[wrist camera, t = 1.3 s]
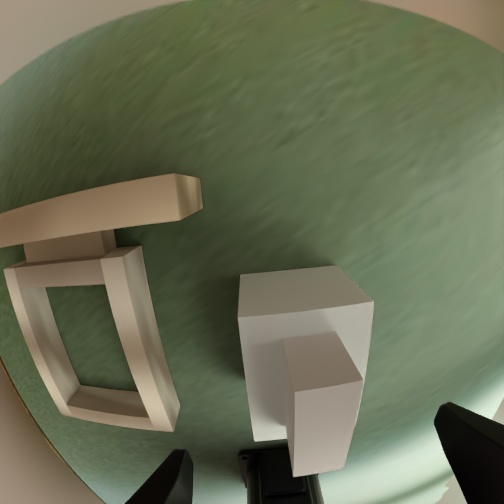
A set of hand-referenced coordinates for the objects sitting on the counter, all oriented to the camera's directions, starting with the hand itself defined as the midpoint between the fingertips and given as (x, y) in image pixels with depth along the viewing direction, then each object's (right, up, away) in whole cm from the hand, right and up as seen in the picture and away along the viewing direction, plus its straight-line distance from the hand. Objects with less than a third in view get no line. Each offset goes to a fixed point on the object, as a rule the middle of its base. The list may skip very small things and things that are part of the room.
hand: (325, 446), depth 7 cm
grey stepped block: (0, +2, +8) cm, 8 cm away
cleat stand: (-12, +2, +8) cm, 15 cm away
